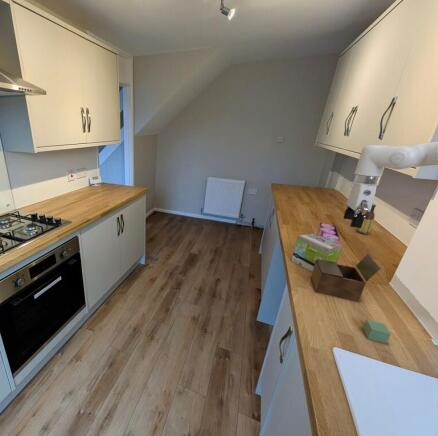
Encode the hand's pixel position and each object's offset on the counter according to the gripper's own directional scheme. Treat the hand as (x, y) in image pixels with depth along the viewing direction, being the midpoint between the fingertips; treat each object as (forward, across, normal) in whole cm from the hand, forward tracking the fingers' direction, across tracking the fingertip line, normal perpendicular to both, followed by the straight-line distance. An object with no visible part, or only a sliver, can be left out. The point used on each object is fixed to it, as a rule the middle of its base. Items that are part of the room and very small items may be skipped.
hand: (351, 222), depth 93 cm
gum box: (+29, +32, -2) cm, 43 cm away
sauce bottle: (+29, +77, -31) cm, 88 cm away
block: (+28, -29, -6) cm, 41 cm away
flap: (+15, -5, -7) cm, 18 cm away
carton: (+28, -5, +1) cm, 29 cm away
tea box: (+29, +12, +6) cm, 31 cm away
